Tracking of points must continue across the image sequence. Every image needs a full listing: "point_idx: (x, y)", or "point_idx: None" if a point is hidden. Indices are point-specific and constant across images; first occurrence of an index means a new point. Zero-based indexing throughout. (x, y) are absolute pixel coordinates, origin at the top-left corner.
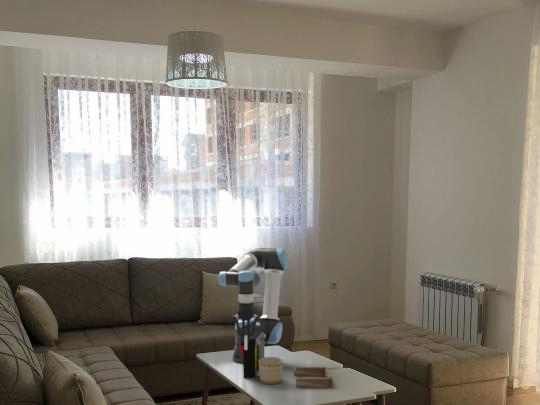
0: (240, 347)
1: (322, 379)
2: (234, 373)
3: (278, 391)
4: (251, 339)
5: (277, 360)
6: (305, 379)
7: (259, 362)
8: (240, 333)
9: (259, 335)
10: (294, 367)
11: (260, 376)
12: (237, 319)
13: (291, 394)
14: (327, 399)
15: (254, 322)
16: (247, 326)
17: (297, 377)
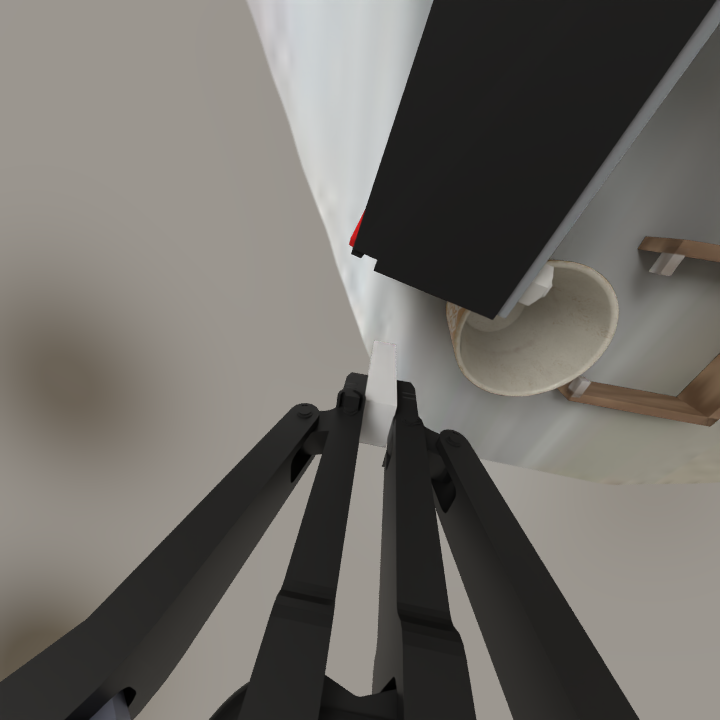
0: (354, 241)
1: (672, 418)
2: (351, 151)
3: (474, 401)
4: (456, 303)
5: (590, 291)
6: (604, 405)
7: (454, 350)
8: (309, 458)
9: (692, 35)
10: (686, 242)
11: (447, 319)
12: (136, 688)
13: (502, 428)
14: (581, 474)
15: (518, 689)
16: (383, 567)
17: (586, 387)
